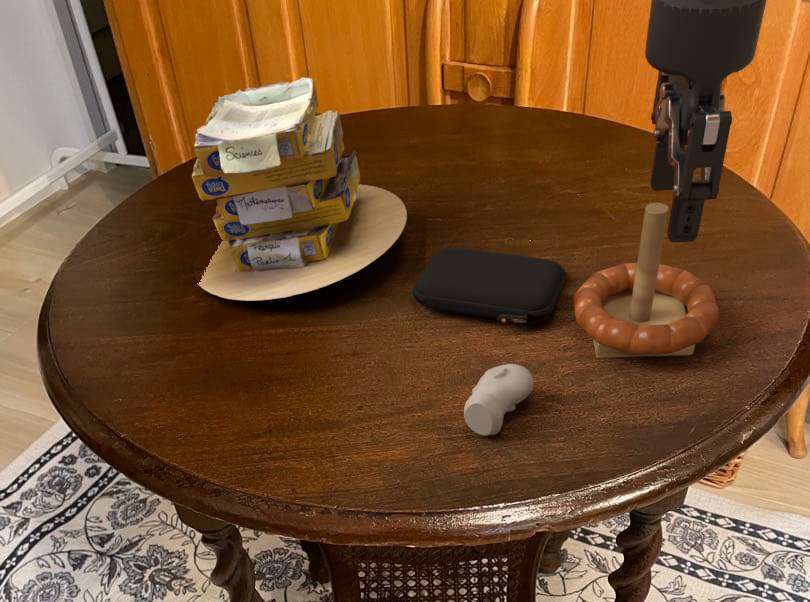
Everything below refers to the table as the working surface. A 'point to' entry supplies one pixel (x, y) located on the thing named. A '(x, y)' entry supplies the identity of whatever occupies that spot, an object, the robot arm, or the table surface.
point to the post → (646, 287)
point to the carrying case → (490, 285)
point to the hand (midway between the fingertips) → (671, 213)
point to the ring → (646, 336)
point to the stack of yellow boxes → (286, 196)
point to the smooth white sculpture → (496, 397)
